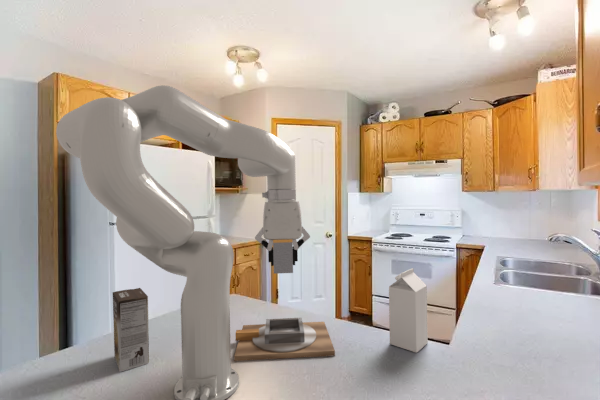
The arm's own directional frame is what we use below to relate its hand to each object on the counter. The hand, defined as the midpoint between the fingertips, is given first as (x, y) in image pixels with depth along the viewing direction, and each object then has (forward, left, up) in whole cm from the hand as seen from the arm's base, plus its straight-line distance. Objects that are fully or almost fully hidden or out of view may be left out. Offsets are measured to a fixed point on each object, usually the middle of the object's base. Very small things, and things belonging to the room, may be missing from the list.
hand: (283, 263), depth 83 cm
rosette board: (0, 0, -21) cm, 21 cm away
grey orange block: (0, 0, -2) cm, 2 cm away
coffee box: (-6, +37, -21) cm, 43 cm away
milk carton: (-5, -32, -21) cm, 39 cm away
